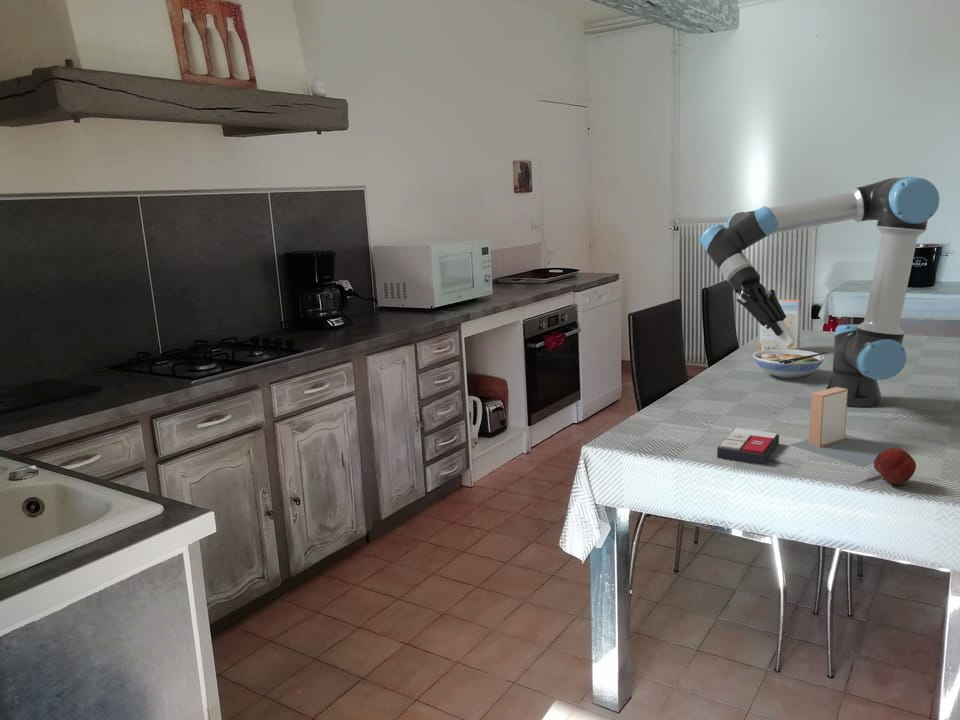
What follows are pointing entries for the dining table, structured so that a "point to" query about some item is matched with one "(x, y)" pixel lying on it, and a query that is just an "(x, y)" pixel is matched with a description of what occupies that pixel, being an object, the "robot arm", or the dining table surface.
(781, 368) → the ramen bowl
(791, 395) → the dining table surface
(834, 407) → the block
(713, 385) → the dining table surface
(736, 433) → the calculator
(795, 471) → the dining table surface
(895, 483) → the apple
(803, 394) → the dining table surface
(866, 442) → the mat
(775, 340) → the cracker box
